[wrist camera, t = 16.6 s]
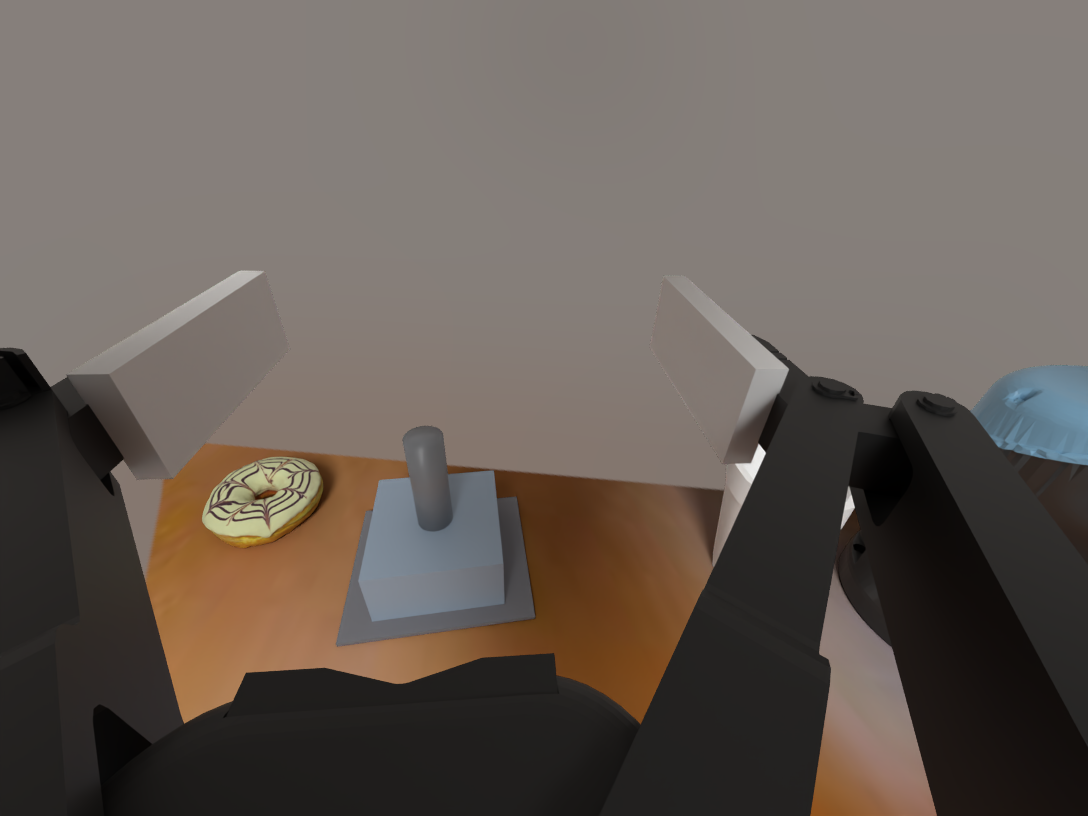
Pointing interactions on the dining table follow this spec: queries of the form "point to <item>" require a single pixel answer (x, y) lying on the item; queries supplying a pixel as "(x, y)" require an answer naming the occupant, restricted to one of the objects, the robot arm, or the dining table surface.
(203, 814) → the robot arm
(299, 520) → the decorated donut
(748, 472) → the foam cup
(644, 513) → the dining table surface
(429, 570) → the cover
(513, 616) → the mat
